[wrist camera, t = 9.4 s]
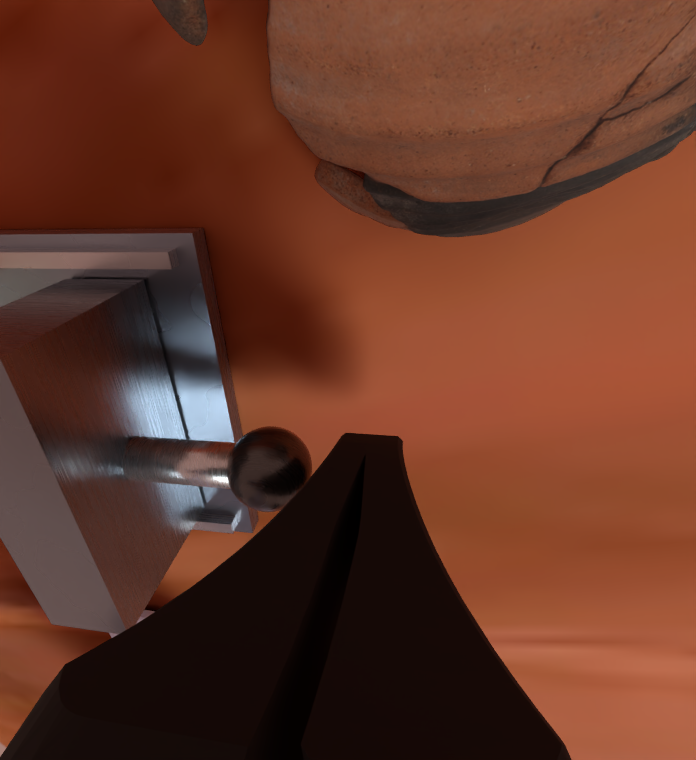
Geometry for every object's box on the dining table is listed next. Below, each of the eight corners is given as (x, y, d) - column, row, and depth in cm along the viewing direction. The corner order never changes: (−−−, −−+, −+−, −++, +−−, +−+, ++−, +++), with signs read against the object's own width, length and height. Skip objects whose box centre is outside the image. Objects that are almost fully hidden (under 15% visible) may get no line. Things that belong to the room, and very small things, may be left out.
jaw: (336, 520, 14) (302, 660, 11) (136, 501, 16) (41, 623, 12) (319, 281, 11) (256, 369, 7) (55, 278, 12) (-123, 352, 8)
